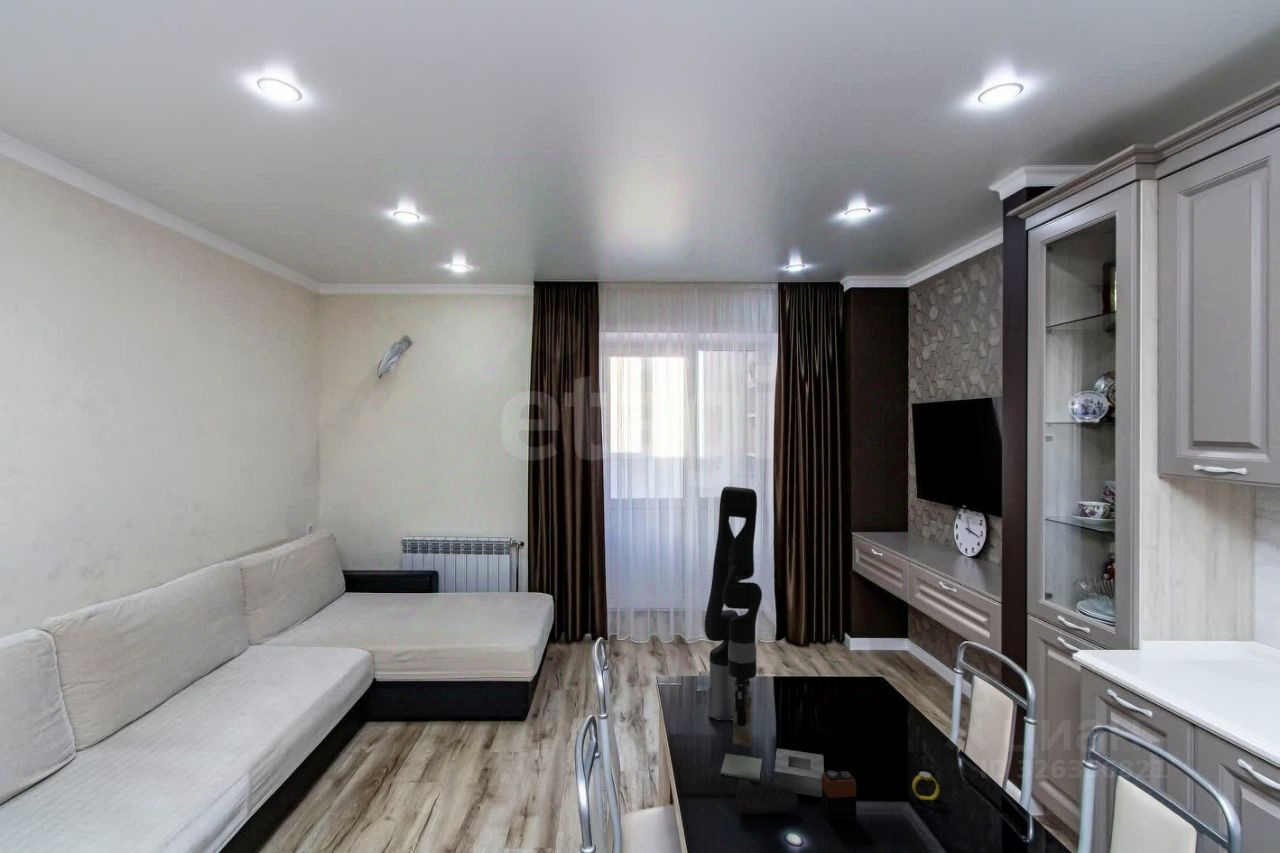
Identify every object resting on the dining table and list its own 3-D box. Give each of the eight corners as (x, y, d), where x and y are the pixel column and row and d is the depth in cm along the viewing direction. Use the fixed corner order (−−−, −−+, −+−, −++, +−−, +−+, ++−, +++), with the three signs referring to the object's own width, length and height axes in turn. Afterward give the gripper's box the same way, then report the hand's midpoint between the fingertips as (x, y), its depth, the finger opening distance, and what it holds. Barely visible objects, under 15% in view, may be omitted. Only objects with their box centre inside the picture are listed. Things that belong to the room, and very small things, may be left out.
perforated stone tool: (794, 805, 141) (794, 775, 141) (801, 819, 135) (800, 788, 136) (732, 805, 140) (732, 775, 141) (736, 818, 135) (736, 787, 136)
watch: (916, 802, 143) (913, 777, 143) (911, 795, 145) (909, 771, 146) (941, 802, 142) (939, 777, 142) (937, 795, 145) (934, 771, 145)
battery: (821, 811, 138) (820, 768, 139) (848, 810, 139) (848, 767, 139) (828, 823, 134) (828, 778, 134) (857, 821, 134) (856, 777, 135)
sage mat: (720, 774, 154) (720, 772, 154) (725, 755, 163) (725, 753, 163) (759, 780, 151) (759, 778, 151) (762, 761, 161) (762, 758, 161)
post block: (774, 789, 147) (774, 771, 147) (776, 765, 158) (776, 748, 159) (824, 797, 144) (824, 779, 144) (823, 772, 155) (823, 754, 155)
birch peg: (733, 744, 156) (733, 701, 156) (735, 736, 160) (735, 695, 161) (750, 746, 155) (750, 703, 155) (751, 738, 159) (751, 697, 159)
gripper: (731, 647, 166) (731, 708, 165) (724, 664, 153) (725, 731, 152) (758, 649, 164) (758, 712, 163) (754, 667, 151) (754, 735, 150)
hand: (742, 721), depth 158 cm, fingers closed on birch peg, 4 cm apart
